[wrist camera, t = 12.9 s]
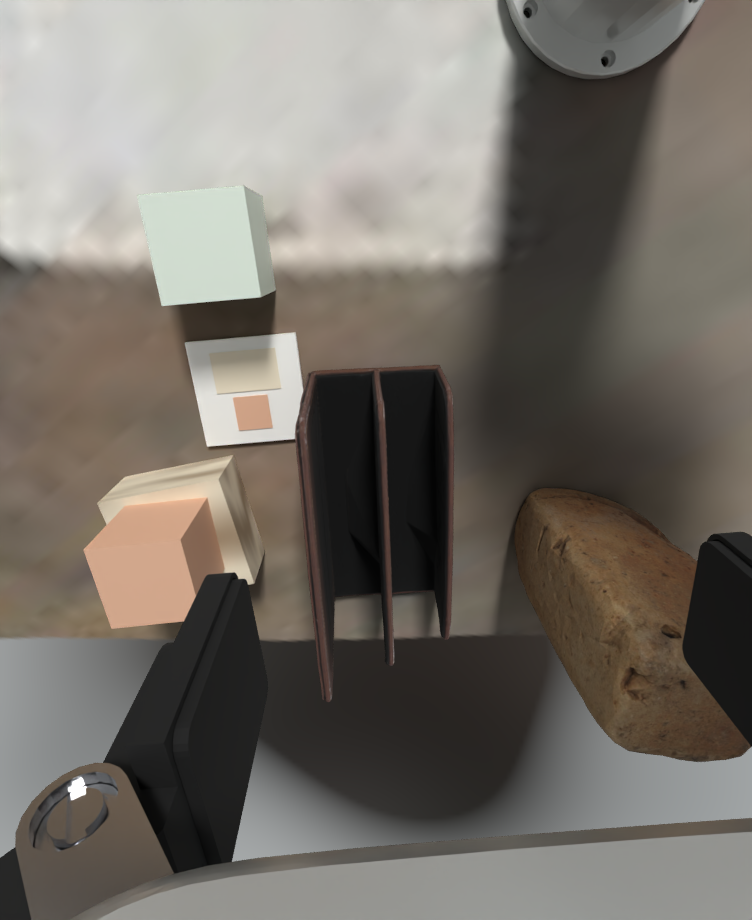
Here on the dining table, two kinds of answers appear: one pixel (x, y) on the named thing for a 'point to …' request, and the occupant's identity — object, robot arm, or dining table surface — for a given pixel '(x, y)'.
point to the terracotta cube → (154, 561)
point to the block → (621, 622)
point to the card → (247, 387)
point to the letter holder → (376, 492)
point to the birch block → (224, 500)
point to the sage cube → (208, 244)
